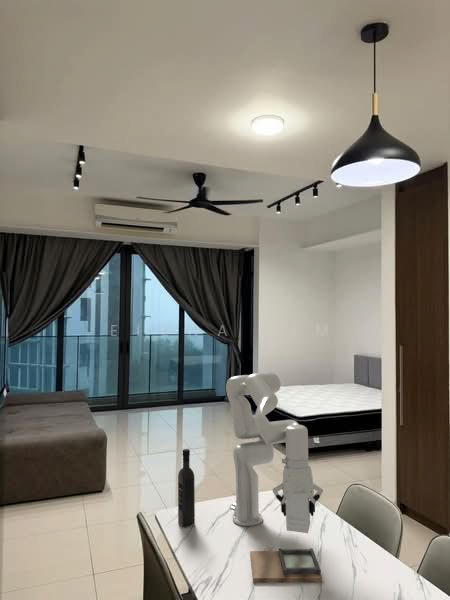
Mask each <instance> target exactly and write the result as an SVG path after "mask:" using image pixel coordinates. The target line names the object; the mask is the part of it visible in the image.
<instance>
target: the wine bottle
mask: <svg viewBox="0 0 450 600" xmlns="http://www.w3.org/2000/svg"><path fill="white" fill-rule="evenodd" d="M190 452H191V450H190V449H188V448H184V449H182V467H181V469H179V471H178V475H177V504H178V505H177V521H178V522H177V523H178V524H179V525H180V526H181V527H183V528H187V526H188V527H190V526H191V525H192V526H195V525H196V523H195V522H196V515H195V514H196V513H195V511H196V509H195V507H196V506H195V503H196V502H195V501H196V499H195V498H196V497H195V496H196V495H195V493H196V490H195V485H196V483H195V473H194V472H195V471H193V469H192V468H191V466H190V465H191V464H190V455H191V453H190Z"/></svg>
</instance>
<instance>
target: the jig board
mask: <svg viewBox="0 0 450 600" xmlns="http://www.w3.org/2000/svg"><path fill="white" fill-rule="evenodd" d="M249 558H250V566H251V567H250V568H251V575H252V584H287V583H288V584H294V583H295V584H296V583H297V584H299V583H300V584H301V583H303V584H304V583H306V584H308V583H318V584H319V583H323V577H322V574H321V573H322V569H321V567H320V565H319V562H318V559H317V556H316V554H315V551H314V549H313V548H311V547H310V548H309V549H308V548H305V549H304V548H301V549H298V548H297V549H295V548H293V549H290V548H289V549H288V548H287V549H282V548H278V550H250V551H249Z"/></svg>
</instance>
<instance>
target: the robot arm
mask: <svg viewBox="0 0 450 600" xmlns="http://www.w3.org/2000/svg"><path fill="white" fill-rule="evenodd" d="M225 386H226V387H225V388H226V389H225V390H226V394H227V395H226V396H227V399H228V402H229V404H230V409H231V416H232V425H233V430H234V431H233V432H234V436H235V438H236V439H238V440H249V439H250V440H251V439H257V440H258V441H248V442H243V443H242V442H241V443H239V444H236V446H235V447H234V449H233V451H232V453H233V454H232V456H233V461H234V468H235V469H234V470H235V502H233V503H232V504H231V506H230V508H229V509H230V510H231V511H234V512H233V513H234V514H232V521H233V523H235V524H236V525H238V526H243V527H254V526H257V525H260V524H261V523H262V521H263V515H262V514H261V513H260V511H259V509H260V505H259V503H260V502H259V501H260V500H259V498H260V497H259V475H258V473H257V472H256V470H255V469H254V467H255V466H259V465H266V464H269V463H271V462H272V461H273V459H274V454H275V453H274V445H275V444H282V443H283V444H284V443H285V458H282V459H281V464H285V465H284V467H283V471H282V483H280V484H279V485H277V486H275V487H273V488H272V493H273V494H274V496H275V498H276V499H277V501H278V502H280V509H281V510H280V511H281V513H282V514H283V516H284V517H286V498H287V499H290V494H291V493H308V499H310V501H309V504H310V517H311V516H312V517H314V513H316V503H317V502H318V500H319V499H320V498H321V496H322V494H323V492H324V490H323V488H322V487H320V486H318V485H317V484H315V483H314V479H313V471H312V468H311V466H310V465H309V434H308V433H309V432H308V431H309V430H308V428H307V427H306V426H305V425H303V424H299V422H297V421H296V420H294V419H284V420H275V421H269V419H268V418H267V416H266V415H268V414H269V413H271V412H272V411H273V410H274V409H275V408H276V407H277V405H278V403H279V399H278V396H277V394H275V393H278V392H279V391H280V389H281V380H280V377H279V376H278V375H277V374H276V373H275V372H257V373H255V372H254V373H252V374H243V375H235V376H231V377H230V378H229V379H227V381H226V385H225ZM245 396H250V397H251V398H252V400H253V402H254V403H255V405H256V407H257V408H256V410H255V414H253V412H252V406H251V403H250V402H249V400H248V399H247V398H246V397H245ZM281 490H282V495H281V494H279V492H280V491H281ZM314 490H315V491H316V493H314V492H315V491H314Z"/></svg>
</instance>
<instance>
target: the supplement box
mask: <svg viewBox="0 0 450 600" xmlns="http://www.w3.org/2000/svg"><path fill="white" fill-rule="evenodd" d="M309 501H310V499H308V493H291V494H290V499H287V498H286V502H285V503H286V516H285V519H286V520H285V525H286V531H288V532H296V533H303V534H309V529H310V526H311V514H310V504H309Z"/></svg>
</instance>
